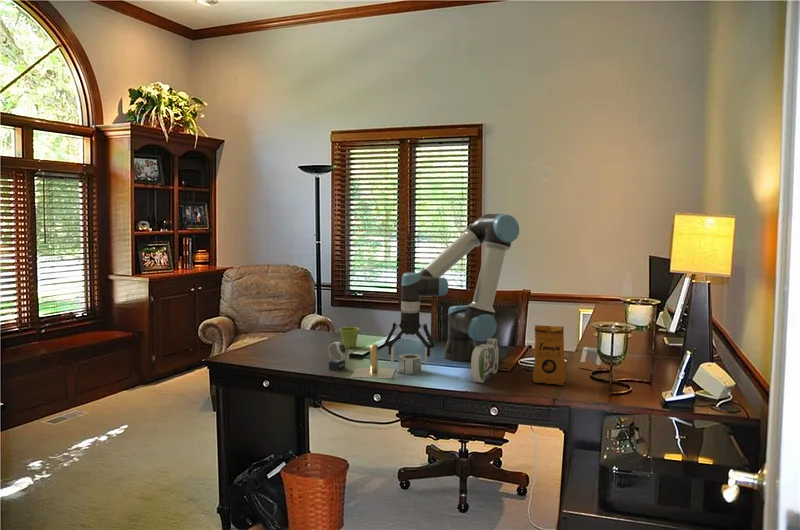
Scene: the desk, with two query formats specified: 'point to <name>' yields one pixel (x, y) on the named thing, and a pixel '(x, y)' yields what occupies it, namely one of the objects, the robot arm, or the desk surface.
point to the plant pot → (349, 336)
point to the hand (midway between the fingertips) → (408, 363)
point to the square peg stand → (374, 367)
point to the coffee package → (549, 355)
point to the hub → (410, 363)
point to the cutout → (484, 360)
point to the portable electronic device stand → (590, 355)
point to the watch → (336, 364)
